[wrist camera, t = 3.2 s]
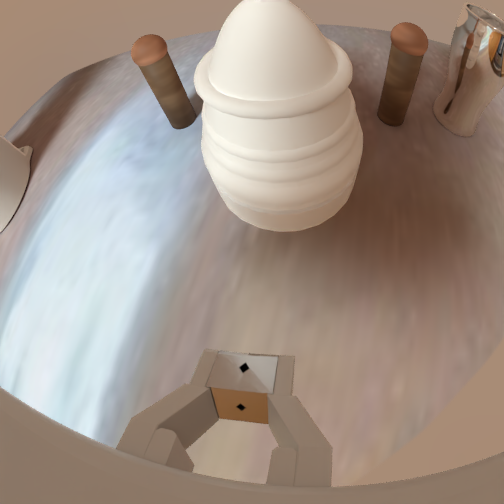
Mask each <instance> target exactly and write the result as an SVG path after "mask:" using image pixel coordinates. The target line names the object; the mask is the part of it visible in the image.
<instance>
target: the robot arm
mask: <svg viewBox="0 0 504 504" xmlns="http://www.w3.org/2000/svg"><path fill="white" fill-rule="evenodd" d="M32 150H33V148H32V147H30V146H24V147H21V148H17V147H15V146H14V145H13V144H12V143H10V142H9V141H8V140H6V139H5V138H4V137H3V136H1V135H0V232H1V231H2V230H3V229H4V228H5V227H6V225H7V224H8V222H9V221H10V219H11V218H12V216H13V214H14V213H15V211H16V209H17V207H18V205H19V203H20V201H21V199H22V196H23V194H24V192H25V189H26V186H27V183H28V179H29V173H30V158H31V154H32ZM294 362H295V356H286V355H266V354H250V353H249V354H246V353H237V352H229V351H221V350H220V351H219V350H212V349H205V350H204V351H203V352H202V354H201V357H200V359H199V362H198V364H197V366H196V369H195V371H194V373H193V376H192V378H191V381H190V383H189V384H184V385H182V386H181V387H179V388H178V389H176V390H175V391H173V392H172V393H170V394H169V395H167V396H166V397H164V398H163V399H161V400H159V401H158V402H156V403H155V404H153V405H152V406H150V407H149V408H147V409H145V410H144V411H142V412H141V413H139V414H137V415H136V416H134V417H133V418H131V420H130V422H129V424H128V426H127V428H126V430H125V432H124V434H123V436H122V438H121V439H120V441H119V443H118V445H117V447H116V449H115V448H112V447H110V446H107V445H105V444H102V443H100V442H98V441H95V440H93V439H91V438H89V437H86V436H84V435H82V434H80V433H78V432H76V431H74V430H72V429H70V428H68V427H66V426H64V425H62V424H60V423H58V422H56V421H54V420H53V419H51V418H49V417H47V416H45V415H44V414H42V413H40V412H39V411H37V410H35V409H34V408H32V407H30V406H29V405H27V404H25V403H24V402H22V401H21V400H19V399H18V398H16V397H15V396H13V395H12V394H10V393H9V392H7V391H6V390H4V389H3V388H2V387H0V504H504V452H502V453H500V454H497V455H494V456H492V457H489V458H486V459H484V460H481V461H478V462H475V463H472V464H469V465H465V466H462V467H459V468H455V469H452V470H448V471H444V472H440V473H436V474H431V475H427V476H422V477H417V478H412V479H406V480H400V481H394V482H386V483H379V484H369V485H358V486H339V487H331V476H332V447H331V445H330V444H329V442H328V441H327V440H326V438H325V437H324V435H323V434H322V433H321V431H320V430H319V428H318V427H317V425H316V424H315V423H314V421H313V420H312V418H311V417H310V415H309V414H308V413H307V411H306V410H305V408H304V407H303V405H302V404H301V402H300V401H299V400H298V398H297V397H296V396H292V393H293V378H294ZM218 418H219V419H227V420H236V421H245V422H253V423H261V424H269V427H270V429H271V431H272V433H273V435H274V437H275V439H276V441H277V443H278V445H279V447H277V448H275V449H274V450H272V455H271V461H270V466H269V472H268V477H267V482H266V484H257V483H248V482H241V481H234V480H228V479H222V478H216V477H211V476H206V475H201V474H197V473H192V471H193V467H194V464H193V462H192V461H191V459H190V457H189V456H188V454H187V452H186V451H185V450H186V449H187V448H188V447H189V446H191V445H192V444H193V443H194V442H195V441H196V440H197V439H198V438H200V437H201V436H202V435H203V434H204V433H205V432H206V431H207V430H208V429H209V428H211V427H212V426H213V425H214V424H215V423H216V422H217V421H218V420H219V419H218Z"/></svg>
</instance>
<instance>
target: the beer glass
mask: <svg viewBox="0 0 504 504" xmlns="http://www.w3.org/2000/svg"><path fill="white" fill-rule="evenodd" d="M503 87H504V20H503V19H501V18H500V17H498V16H497V15H495V14H494V13H492V12H490V11H488V10H486V9H484V8H482V7H480V6H478V5H475V4H472V3H467V2H465V3H464V4H463V8H462V11H461V14H460V16H459V19H458V22H457V24H456V27H455V30H454V34H453V38H452V42H451V47H450V53H449V62H448V70H447V77H446V82H445V85H444V88H443V90H442V92H441V94H440V95H439V96H438V98H437V99H436V101H435V102H434V104H433V112H434V115H435V117H436V118H437V120H438V121H439V122H440V123H441V124H442V125H443V126H444V127H445V128H446V129H448V130H449V131H450V132H452V133H454V134H456V135H459V136H462V137H470V136H472V135H473V134H474V133H475V131H476V129H477V126H478V122H479V119H480V116H481V114H482V112H483V111H484V109H485V108H486V107H487V105H488V104H489V103H490V102H491V101H492V100H493V98H494V97H495V96H496V95H497V94H498V93H499V92H500V90H501V89H502V88H503Z"/></svg>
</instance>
